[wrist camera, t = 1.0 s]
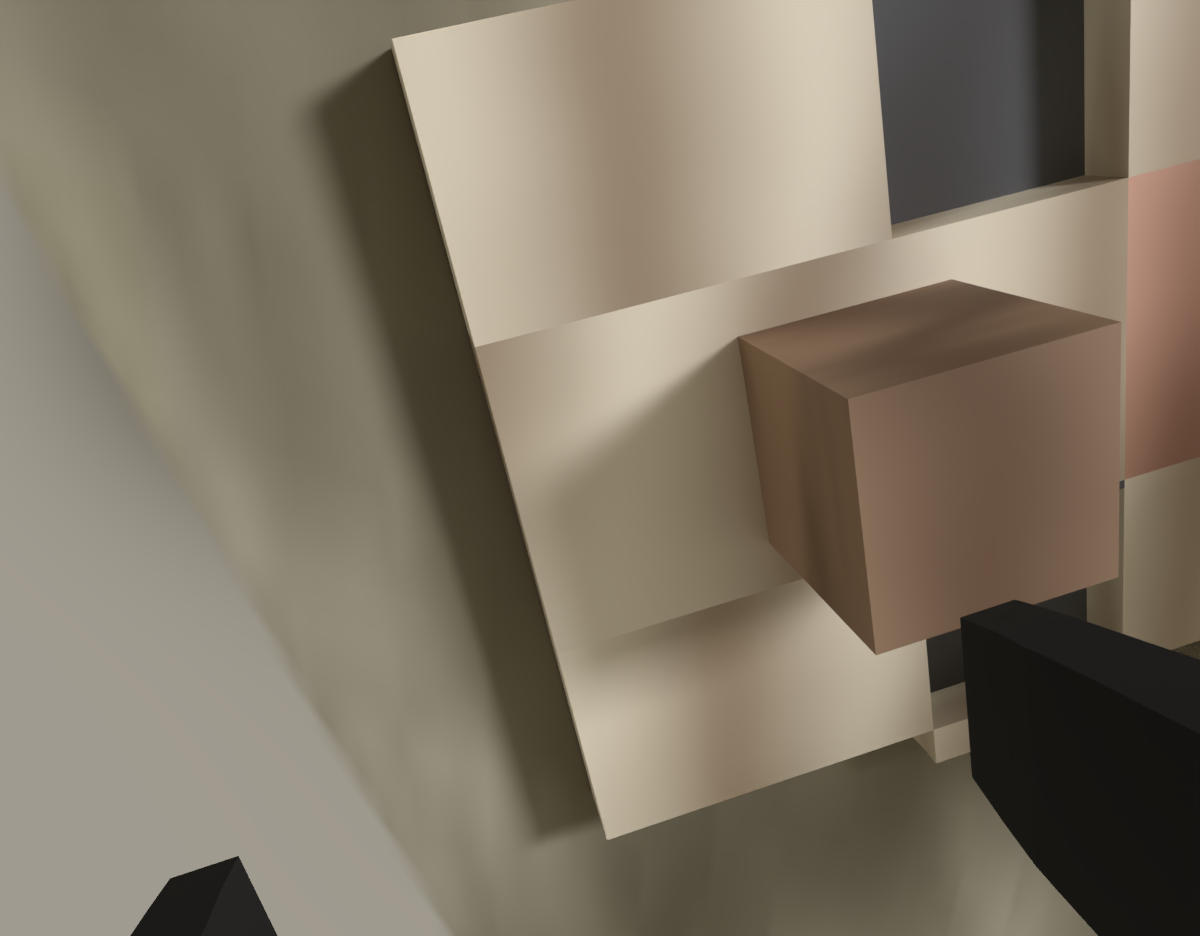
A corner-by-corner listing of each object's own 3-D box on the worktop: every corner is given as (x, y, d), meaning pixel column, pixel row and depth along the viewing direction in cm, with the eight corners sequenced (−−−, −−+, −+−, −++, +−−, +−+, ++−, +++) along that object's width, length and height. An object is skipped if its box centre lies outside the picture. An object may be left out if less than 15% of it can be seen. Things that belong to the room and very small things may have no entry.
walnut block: (951, 279, 18) (1121, 321, 14) (963, 484, 19) (1118, 576, 15) (737, 336, 17) (847, 398, 13) (769, 542, 19) (875, 655, 15)
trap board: (1349, -218, 18) (1494, -270, 15) (1277, 601, 25) (1369, 648, 22) (373, -18, 15) (371, -46, 13) (601, 827, 22) (626, 907, 20)
